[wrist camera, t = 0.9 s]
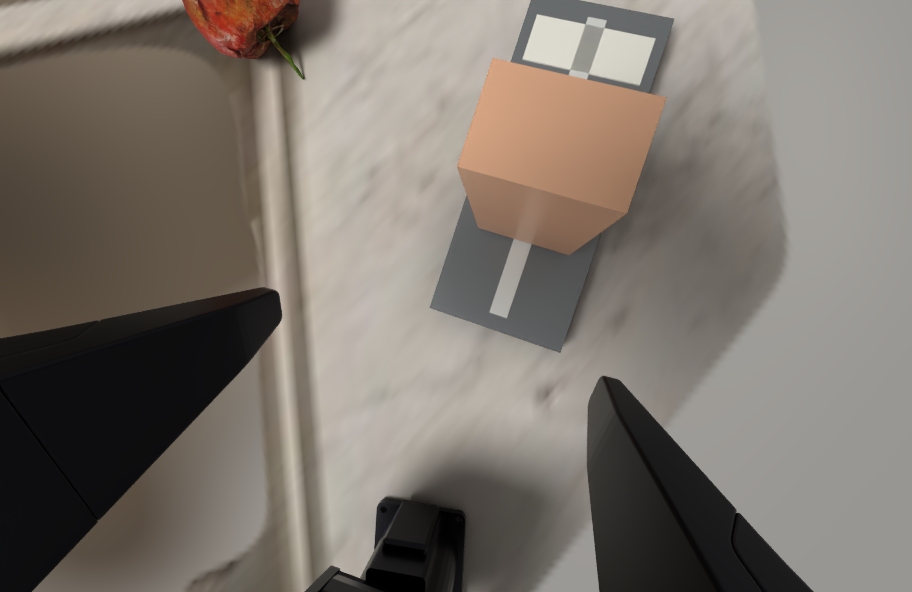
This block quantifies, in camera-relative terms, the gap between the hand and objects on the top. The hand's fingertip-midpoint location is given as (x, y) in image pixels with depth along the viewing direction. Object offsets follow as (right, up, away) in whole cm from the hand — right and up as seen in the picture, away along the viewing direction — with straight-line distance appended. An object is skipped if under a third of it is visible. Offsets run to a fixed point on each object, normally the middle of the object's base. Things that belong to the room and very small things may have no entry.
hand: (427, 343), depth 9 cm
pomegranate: (-13, +22, +18) cm, 31 cm away
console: (+7, +9, +15) cm, 19 cm away
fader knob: (+6, +7, +12) cm, 15 cm away
